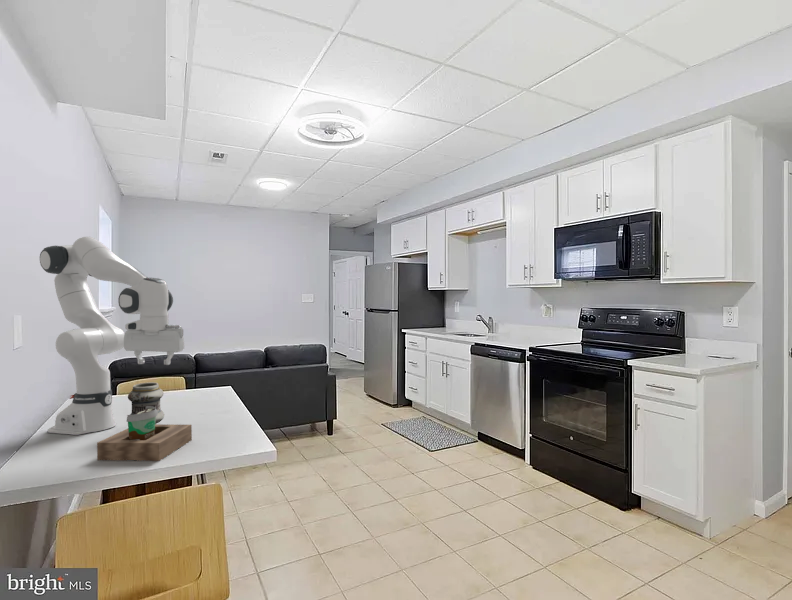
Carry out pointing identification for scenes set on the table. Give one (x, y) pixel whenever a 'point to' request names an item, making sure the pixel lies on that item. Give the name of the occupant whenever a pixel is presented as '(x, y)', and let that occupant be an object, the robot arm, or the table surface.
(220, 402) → the table surface
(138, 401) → the apothecary jar
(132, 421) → the food container
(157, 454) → the walnut base
